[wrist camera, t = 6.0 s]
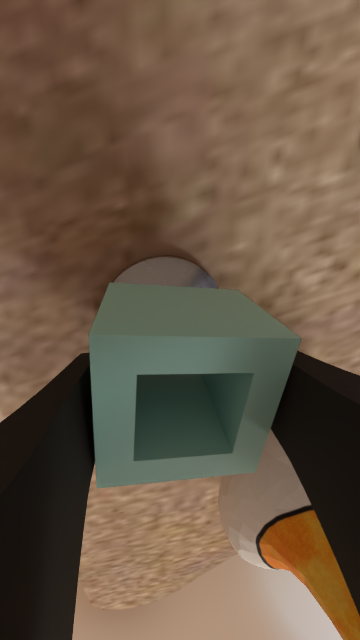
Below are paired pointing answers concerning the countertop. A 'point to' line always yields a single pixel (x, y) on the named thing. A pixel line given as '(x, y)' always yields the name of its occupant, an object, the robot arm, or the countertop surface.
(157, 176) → the countertop surface
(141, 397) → the collar
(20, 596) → the robot arm
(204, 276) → the post
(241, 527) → the decorative sculpture
